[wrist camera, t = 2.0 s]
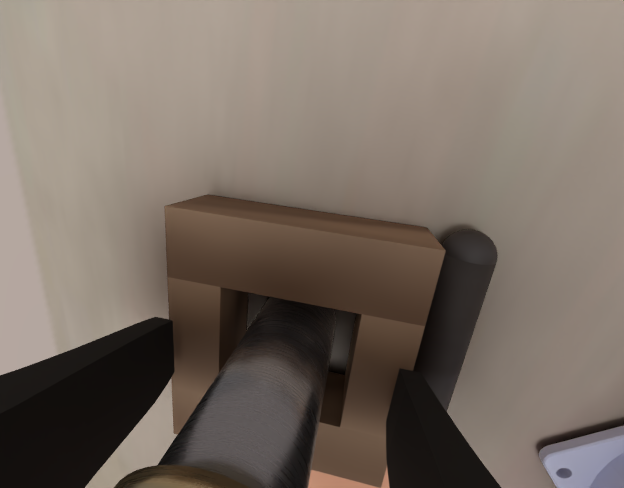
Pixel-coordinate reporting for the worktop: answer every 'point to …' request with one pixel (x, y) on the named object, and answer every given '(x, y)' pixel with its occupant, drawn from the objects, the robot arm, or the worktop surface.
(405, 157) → the worktop surface
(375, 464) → the clamp block
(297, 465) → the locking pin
